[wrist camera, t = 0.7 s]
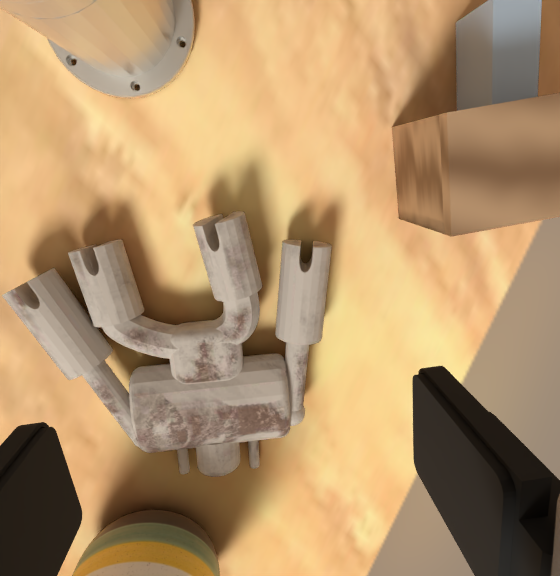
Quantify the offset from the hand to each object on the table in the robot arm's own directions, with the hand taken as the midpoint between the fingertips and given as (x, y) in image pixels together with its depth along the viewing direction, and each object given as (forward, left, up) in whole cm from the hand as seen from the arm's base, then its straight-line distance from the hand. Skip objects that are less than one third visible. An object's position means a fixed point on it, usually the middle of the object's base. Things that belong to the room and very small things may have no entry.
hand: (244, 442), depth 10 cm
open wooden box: (-4, +22, -32) cm, 39 cm away
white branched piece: (+12, -7, -33) cm, 36 cm away
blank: (-10, +25, -32) cm, 42 cm away
